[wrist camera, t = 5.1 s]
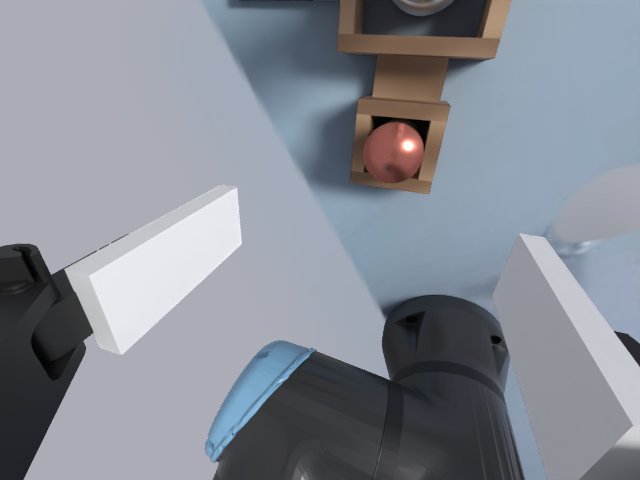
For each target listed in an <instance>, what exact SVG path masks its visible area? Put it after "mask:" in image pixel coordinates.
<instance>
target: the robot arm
mask: <svg viewBox="0 0 640 480" xmlns="http://www.w3.org/2000/svg"><path fill="white" fill-rule="evenodd" d="M237 196H238V195H237V187H233V186H226V185H219V186H217V187H215V188H213V189H212V190H210V191H208V192H206V193H204V194H202V195H201V196H199V197H197V198H195V199H193V200H192V201H190V202H188V203H186V204H184V205H182V206H180V207H178V208H176V209H175V210H173V211H171V212H169V213H167V214H165V215H164V216H162V217H160V218H158V219H156V220H154V221H152V222H151V223H149V224H147V225H145V226H143V227H141V228H140V229H138V230H136V231H134V232H132V233H130V234H127V235H125V236H123V237H121V238H119V239H117V240H116V241H113V242H112V243H111V244H110V245H109V244H108V245H106V246H104V247H102V248H100V249H99V251H95V252H93V253H91V254H89V255H87V256H86V257H84V258H82V259H80V260H78V261H76V262H74V263H73V264H71V265H69V266H67V267H65V268H63V269H61V270H59V271H58V272H56V273H54V274H52V275H51V274H50V272H49V270H48V268H47V266H46V264H45V262H44V260H43V258H42V256H41V254H40V251H39V250H38V248H37V246H34V245H31V244H13V245H6V246H2V247H0V480H23V479H24V477H25V475H26V473H27V471H28V469H29V467H30V465H31V463H32V461H33V459H34V457H35V455H36V453H37V451H38V448H39V447H40V445H41V443H42V440H43V438H44V436H45V434H46V432H47V430H48V428H49V426H50V424H51V422H52V420H53V418H54V416H55V414H56V412H57V410H58V408H59V406H60V404H61V402H62V400H63V398H64V396H65V393H66V391H67V389H68V387H69V385H70V383H71V381H72V379H73V377H74V375H75V373H76V371H77V369H78V367H79V365H80V363H81V361H82V359H83V357H84V355H85V351H86V346H85V344H84V342H83V341H84V340H85V339H86V338H87V337H89V336H90V335H91V334H92V333H93V334H94V336H95V338H96V340H97V343H98V344H99V347H100V348H101V349H104V350H107V351H110V352H113V353H116V354H119V355H122V354H124V353H125V352H126V351H127V350H128V349H129V348H130V347H131V346H132V345H133V344H134V343H135V342H136V341H138V340H139V339H140V338H141V337H142V336H143V335H144V334H145V333H146V332H147V331H148V330H149V329H150V328H152V326H154V325H155V324H156V323H157V322H158V321H159V320H160V319H161V318H162V317H163V316H164V315H166V314H167V313H168V312H169V311H170V310H171V309H172V308H173V307H174V306H175V305H176V304H177V303H179V302H180V301H181V300H182V299H183V298H184V297H185V296H186V295H187V294H188V293H189V292H190V291H191V290H193V289H194V288H195V287H196V286H197V285H198V284H199V283H200V282H201V281H202V280H203V279H204V278H205V277H207V276H208V275H209V274H210V273H211V272H212V271H213V270H214V269H215V268H216V267H217V266H218V265H220V263H222V262H223V261H224V260H225V259H226V258H227V257H228V256H229V255H230V254H231V253H232V252H233V251H235V250H236V249H237V248H238V247H239V246H240V245H241V244H242V240H241V228H240V217H239V206H238V197H237ZM492 299H493V302H494V305H495V308H496V312H497V315H498V318H499V322H500V323H499V322H498V321H497V320H496V318H495V317H494V316H493V315H491V314H490V313H489V312H488V311H486V310H485V309H484V308H482V307H480V306H478V305H477V304H474V303H472V302H470V301H467V300H464V299H461V298H456V297H451V296H439V295H435V296H424V297H419V298H415V299H412V300H410V301H407V302H405V303H403V304H402V305H400V306H399V307H397V308H396V309H395V310H394V311H393V312H392V313H391V314H390V315H389V317H388V318H387V320H386V322H385V326H384V331H383V337H382V348H383V353H384V358H385V362H386V366H387V369H388V373H389V377H390V380H388V379H386V378H384V377H381V376H378V375H376V374H373V373H371V372H368V371H366V370H363V369H360V368H358V367H355V366H353V365H350V364H348V363H345V362H342V361H340V360H337V359H335V358H332V357H330V356H327V355H324V354H322V353H319V352H317V350H315V349H313V348H311V349H308V348H305V347H302V346H299V345H296V344H293V343H290V342H287V341H280V340H279V341H274V342H271V343H270V344H268V345H266V346H265V347H264V348H262V349H261V350H260V351H259V352H258V353H257V354H256V355H255V356H254V358H253V359H252V360H251V361H250V362H249V364H248V365H247V366H246V368H245V369H244V370H243V372H242V373H241V374H240V376H239V377H238V379H237V380H236V382H235V383H234V385H233V387H232V388H231V390H230V392H229V393H228V395H227V397H226V398H225V400H224V402H223V403H222V405H221V407H220V410H219V411H218V413H217V415H216V417H215V419H214V421H213V423H212V426H211V428H210V431H209V435H208V436H209V437H208V439H207V441H206V443H205V452H206V455H207V456H209V457H210V460H211V461H212V462H214V463H215V462H219V464H218V468H217V471H216V473H215V476H214V478H213V480H525V477H524V473H523V469H522V466H521V462H520V458H519V454H518V450H517V446H516V442H515V438H514V434H513V430H512V426H511V422H510V418H509V414H508V411H507V407H506V403H505V399H504V391H505V385H506V379H507V373H508V367H509V361H510V358H511V361H512V365H513V368H514V371H515V374H516V378H517V381H518V384H519V388H520V391H521V394H522V398H523V401H524V404H525V407H526V411H527V414H528V417H529V421H530V424H531V427H532V431H533V434H534V437H535V440H536V444H537V447H538V450H539V454H540V457H541V460H542V463H543V467H544V470H545V473H546V477H547V480H640V344H639V343H638V342H637V341H636V340H634V339H633V338H632V337H631V336H629V335H628V334H625V333H620V332H616V331H613V330H612V329H611V327H610V326H609V324H608V323H607V322H606V320H605V319H604V318H603V316H602V315H601V314H600V312H599V311H598V310H597V308H596V307H595V305H594V304H593V303H592V301H591V300H590V299H589V297H588V296H587V295H586V293H585V292H584V291H583V289H582V288H581V286H580V285H579V284H578V282H577V281H576V280H575V278H574V277H573V276H572V274H571V273H570V271H569V270H568V269H567V267H566V266H565V265H564V263H563V262H562V261H561V259H560V258H559V257H558V255H557V254H556V252H555V251H554V250H553V248H552V247H551V246H550V244H549V243H548V242H547V240H546V239H545V238H544V237H538V236H532V235H526V234H520V233H519V235H518V237H517V239H516V242H515V244H514V246H513V249H512V251H511V253H510V256H509V258H508V260H507V263H506V265H505V267H504V270H503V272H502V274H501V276H500V279H499V281H498V283H497V286H496V288H495V290H494V293H493V295H492Z"/></svg>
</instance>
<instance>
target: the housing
mask: <svg viewBox="0 0 640 480" xmlns="http://www.w3.org/2000/svg"><path fill="white" fill-rule="evenodd" d="M365 1H366V0H340V15H339V30H338V45H337V51H338V52H342V53H345V54H358V55H377V62H376V70H375V78H374V86H373V95H372V96H364V97H362V98H359V99H358V106H357V116H356V126H355V135H354V145H353V155H352V165H351V174H350V183H354V184H361V185H368V186H375V187H382V188H389V189H395V190H402V191H409V192H416V193H423V194H429V192H430V188H431V184H432V180H433V176H434V172H435V168H436V164H437V160H438V156H439V151H440V147H441V143H442V139H443V135H444V131H445V127H446V123H447V119H448V115H449V111H450V105H449V103H448V102H444V101H440V98H441V94H442V89H443V85H444V80H445V76H446V71H447V67H448V63H449V59H468V60H489V59H493V58H495V56H496V52H497V49H498V45H499V42H500V38H501V35H502V31H503V28H504V25H505V21H506V18H507V14H508V11H509V7H510V4H511V0H485V4H484V8H483V12H482V15H481V19H480V23H479V27H478V31H477V35H476V38H469V37H435V36H401V35H367V34H362V31H363V21H364V11H365ZM377 116H385V117H396V118H407V119H417V120H428V121H429V123H428V128H427V132H426V137H425V142H424V156H423V160H422V163H421V166H420V167H419V169H418V170H417V172H416V173H415V174H414V175H413V176H412V177H410V178H409V179H407V180H405V181H403V182H399V183H384V182H381V181H379V180H377V179H376V178H374V177H373V176H372V175H371V174H370V173H369V172H368V170H367V169H366V167H365V164H364V160H363V149H364V145H365V143H366V140H367V139H368V137H369V136H370V135H371V133H372V132H373V131H374V130H375V124H376V117H377Z"/></svg>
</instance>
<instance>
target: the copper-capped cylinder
mask: <svg viewBox="0 0 640 480" xmlns="http://www.w3.org/2000/svg"><path fill="white" fill-rule="evenodd" d="M423 156H424V146H423V141H422V139H421V136H420V135H419V131H418V129H417V127H416V126H415V124H414V123H413V122H411V121H409V120H407V119H403V118H397V119H393V120H391V121H389V122H387V123H386V124H383V125H381V126H379V127H378V128H377V129H375V130H374V131H373V132H372V133H371V135H370V136H369V137H368V139H367V140H366V143H365V145H364V149H363V160H364V164H365V167H366V169H367V170H368V172H369V173H370V174H371V175H372V176H373V177H374V178H376V179H377V180H379V181H381V182H384V183H399V182H403V181H405V180H407V179H409V178H410V177H412V176H413V175H414V174H415V173H416V172H417V170H418V169H419V167H420V166H421V163H422V160H423Z"/></svg>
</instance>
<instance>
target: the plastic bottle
mask: <svg viewBox="0 0 640 480" xmlns="http://www.w3.org/2000/svg"><path fill="white" fill-rule="evenodd" d="M392 1H393V2H394V3H395V4H396V5H397V6H398V7H399V8H400V9H401V10H403V11H404V12H406V13H408V14H411V15H414V16H426V15H432V14H434V13H437V12H439V11H441V10H443V9H444V8H446V7H447V6H449V5H450V4H451V3H452V2H453V1H454V0H392Z"/></svg>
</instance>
